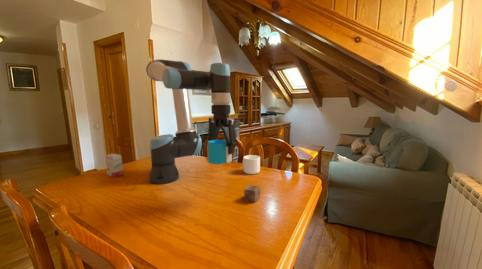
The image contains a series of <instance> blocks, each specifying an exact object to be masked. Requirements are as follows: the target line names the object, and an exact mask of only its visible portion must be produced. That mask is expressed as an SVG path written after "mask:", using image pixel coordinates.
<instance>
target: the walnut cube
mask: <svg viewBox="0 0 482 269" xmlns="http://www.w3.org/2000/svg"><path fill="white" fill-rule="evenodd" d="M243 192H244V193H243V194H244V196H243V197H244V200H243V201H245V202H250V203H255V204H256V203H257V202H258V200H260V198H261V186H258V185H253V184H249V185H247V186H246V187H245V188H244V189H243Z"/></svg>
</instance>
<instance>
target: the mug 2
mask: <svg viewBox="0 0 482 269" xmlns="http://www.w3.org/2000/svg"><path fill="white" fill-rule="evenodd" d="M242 166H243V169H242V170H243V172H244V173H245V174H247V175H255V174H259V172H260V171H261V156H259V155H256V154H254V155H253V154H247V155H244V156H243V159H242Z"/></svg>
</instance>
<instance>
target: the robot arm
mask: <svg viewBox="0 0 482 269" xmlns="http://www.w3.org/2000/svg"><path fill="white" fill-rule="evenodd" d="M230 67H231V66H230V64H228V63H224V62H213V63H211V64H210V70H209V71H201V70H192V67H191V65H190V64H189V63H188V62H184V61H181V60H170V59H169V60H168V59H155V60H151V61H150V62H148V63H147V65H146V68H145V71H146V74H147V76H148V78H150V79H151V80H153V81H156V82H162V83H163V85H164V88H166V89H170V90H172V98H173V99H172V100H173V104H174V105H173V106H174V112H175V120H176V121H175V122H176V126H177V130H176V131H175V133H174V134H175V135H173V134H171V133H170V134H162V135H161V134H160V135H157V136H155V137H152V138H151V139H150V140H149V141H150V142H149V150H150V161H151V168H150V171H149V175H148V181H149V183H151V184H155V185H156V184H157V185H163V184H170V183H173V182H176V181H177V180H179V178H180V173H179V170H178V166H177V164H176V159H179V158H184V157H192V156H195V155H198V154H200V153H201V150H202V145H203V141H202V137H201V135H200V134H197V130H196V129H194V124H193V119H192V118H193V117H192V109H191V103H190V102H191V101H190V95H189V90H194V91H197V90H199V91H207V92H209V91H210V94H211V95H210V96H211V97H210V98H211V99H210V100H211V101H210V102H211V104H212V105H211V107H210V108H211V114H212V116H213V117H209V118H208V129H207V130H208V134H207V140H208V141H211V140H218V138H219V135H220V130H221V131H222V133H223V136H224V140H226V143H227V145H226V162H227V163H231V162H233V154H234V151H233V150H234V146H236V145H238V141H237V134H236V133H237V132H236V125H235V123H236V120H235V119H234V118H230V114H231V105H230V104H231V72H230V69H231V68H230ZM208 141H207V142H208Z"/></svg>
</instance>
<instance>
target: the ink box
mask: <svg viewBox="0 0 482 269" xmlns="http://www.w3.org/2000/svg"><path fill="white" fill-rule="evenodd" d="M104 156H105V164H106V173H107V176H110V177H113V178H117V176H118V177H121V176H124V168H123V160H122V159H123V158H122V154H117V153H109V154H105V155H104Z"/></svg>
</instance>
